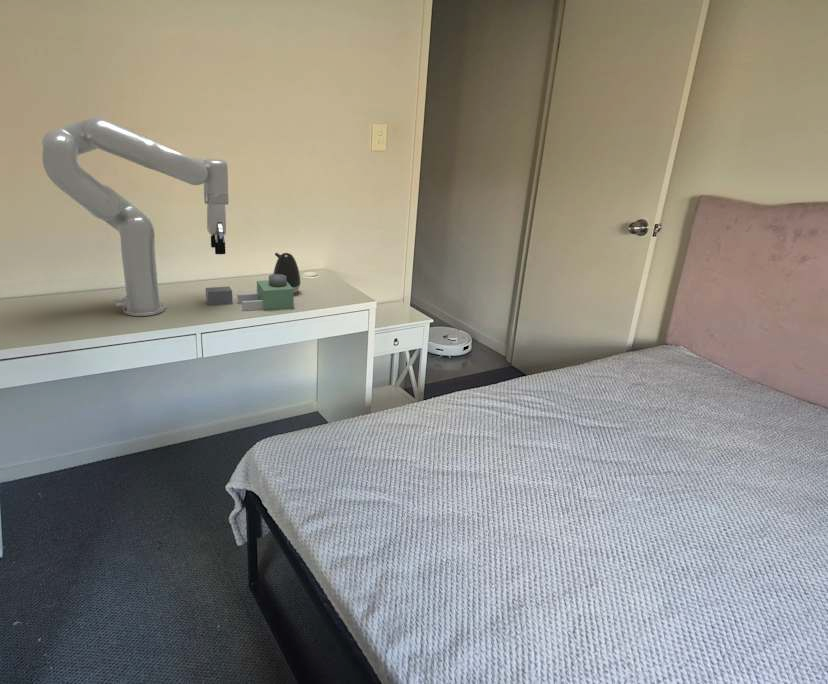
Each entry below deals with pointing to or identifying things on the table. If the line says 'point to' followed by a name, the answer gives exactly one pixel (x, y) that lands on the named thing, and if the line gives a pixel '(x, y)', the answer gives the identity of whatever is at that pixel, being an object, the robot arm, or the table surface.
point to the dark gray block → (219, 296)
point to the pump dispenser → (288, 269)
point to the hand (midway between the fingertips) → (218, 250)
